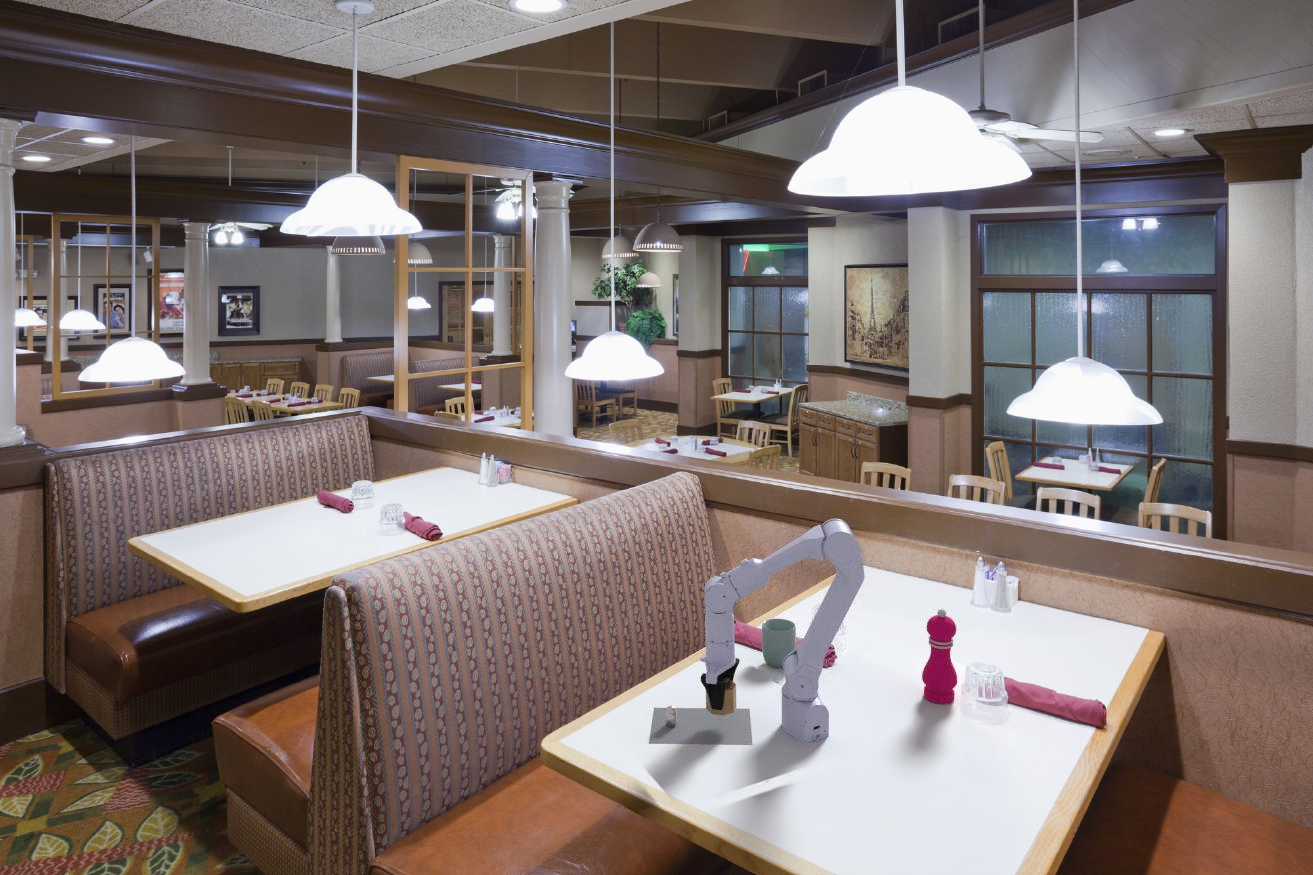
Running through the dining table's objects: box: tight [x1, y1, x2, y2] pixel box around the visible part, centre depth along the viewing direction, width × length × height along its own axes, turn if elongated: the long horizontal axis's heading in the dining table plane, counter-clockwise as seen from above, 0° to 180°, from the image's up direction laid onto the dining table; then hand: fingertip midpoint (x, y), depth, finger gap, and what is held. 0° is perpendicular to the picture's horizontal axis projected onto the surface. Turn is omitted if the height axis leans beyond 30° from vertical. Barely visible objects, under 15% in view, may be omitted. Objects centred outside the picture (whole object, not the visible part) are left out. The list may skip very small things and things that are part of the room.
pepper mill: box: [921, 608, 958, 705], centre depth 179 cm, size 7×7×20 cm
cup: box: [761, 618, 797, 669], centre depth 198 cm, size 8×8×10 cm
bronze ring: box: [705, 680, 737, 716], centre depth 168 cm, size 6×6×5 cm
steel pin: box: [665, 705, 677, 728], centre depth 169 cm, size 2×2×4 cm
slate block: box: [648, 707, 753, 746], centre depth 169 cm, size 20×14×2 cm
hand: (721, 701), depth 168 cm, fingers closed on bronze ring, 6 cm apart
